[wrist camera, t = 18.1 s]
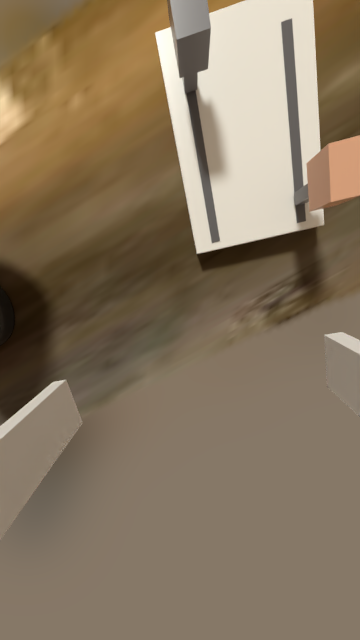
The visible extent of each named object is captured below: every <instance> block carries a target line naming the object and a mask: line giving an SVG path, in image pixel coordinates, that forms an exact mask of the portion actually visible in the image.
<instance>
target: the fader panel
mask: <svg viewBox="0 0 360 640" xmlns="http://www.w3.org/2000/svg"><path fill="white" fill-rule="evenodd" d="M209 17H210V25H211V34H210V48H209V62H208V69H207V70H204V71H201V72H198V83H197V90H194V91H191V92H188V93H185V92H184V86H183V80H182V78H180V77H179V72H178V66H177V60H176V55H175V49H174V43H173V37H172V32H171V27H170V28H167V29H164V30H161V31H159V32H156V33H155V35H156V41H157V47H158V52H159V58H160V63H161V69H162V74H163V79H164V84H165V90H166V95H167V100H168V106H169V111H170V116H171V121H172V127H173V132H174V137H175V142H176V148H177V153H178V158H179V163H180V169H181V174H182V179H183V184H184V190H185V195H186V200H187V206H188V211H189V216H190V221H191V227H192V232H193V237H194V242H195V248H196V253H197V254H201V253H206V252H210V251H214V250H219V249H223V248H227V247H232V246H236V245H241V244H245V243H249V242H254V241H258V240H262V239H267V238H271V237H275V236H280V235H284V234H289V233H293V232H297V231H302V230H306V229H310V228H314V227H318V226H321V225H324V213H323V209H319V210H315V211H310V212H309V202H308V203H304V204H300V205H296V206H295V201H294V193H295V192H296V191H297V190H299V189H300V188H302V187H303V186H304V185H306V184H307V183H308V181H307V165H306V163H307V162H309V161H310V160H311V159H312V158H313V157H314V156H315V155H316V154H318V153H319V152H320V133H319V113H318V93H317V73H316V53H315V33H314V13H313V0H245V1H243V2H240V3H237V4H234V5H231V6H229V7H226V8H223V9H220V10H217V11H215V12H212V13H209Z"/></svg>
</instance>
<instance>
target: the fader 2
mask: <svg viewBox="0 0 360 640" xmlns="http://www.w3.org/2000/svg"><path fill="white" fill-rule="evenodd" d="M306 165H307V181H308V183H307V184H306V185H304V186H303V187H302V188H300V189H299V190H297V191H296V192H295V193H294V201H295V206H296V205H300V204H304V203H308V202H309V212H310V211H315V210H319V209H323V208H327V207H331V206H336V205H339V204H341V203H344V202H346V201H348V200H351V199H353V198H356V197H358V196H360V135H359V136H356V137H352V138H348V139H344V140H341V141H337V142H333V143H330V144H328V145H327V146H325V147H324V148H323V149H322V150H321V151H320V152H319V153H318V154H316V155H315V156H314V157H313V158H312V159H311V160H310V161H309V162H307V163H306Z"/></svg>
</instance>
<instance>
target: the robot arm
mask: <svg viewBox="0 0 360 640" xmlns="http://www.w3.org/2000/svg"><path fill="white" fill-rule="evenodd" d="M13 327H14V311H13V308H12V305H11V302H10V300H9V298H8V296H7V295H6V293H5V292H4V290H3V289H2V288H1V287H0V345H2V344H3V343H4V342H6V341H7V340H8V338H9V337H10V335H11V333H12V331H13ZM324 339H325V356H326V375H327V387H328V388H329V389H330V390H331V391H333V393H334V394H336V395H337V396H338V397H339V398H340V399H341V400H342V401H343V402H344V403H345V404H346V405H347V406H348V407H350V408H351V409H352V410H353V411H354V412H355V413H356V414H357V415H358V416H359V417H360V340H358V339H356V338H353V337H352V336H349V335H347V334H345V333H343V332H339V333H333V334H328V335H324ZM82 423H83V422H82V420H81V417H80V415H79V412H78V409H77V407H76V404H75V402H74V399H73V396H72V394H71V391H70V389H69V386H68V383H67V381H66V380H61V381H56V382H52V383H51V384H50V385H49V386H48V387H46V388H45V389H44V390H43V391H42V392H41V393H39V394H38V395H37V396H36V397H35V398H33V399H32V400H31V401H30V402H29V403H27V404H26V405H25V406H24V407H23V408H21V409H20V410H19V411H18V412H17V413H16V414H14V415H13V416H12V417H11V418H10V419H8V420H7V421H6V422H5V423H4V424H2V425H1V426H0V540H1V539H2V537H3V536H4V534H5V533H6V531H7V530H8V529H9V527H10V526H11V524H12V523H13V521H14V520H15V519H16V517H17V516H18V514H19V513H20V511H21V510H22V509H23V507H24V505H25V504H26V503H27V501H28V500H29V499H30V497H31V496H32V494H33V493H34V491H35V490H36V489H37V487H38V486H39V484H40V483H41V481H42V480H43V478H44V477H45V476H46V474H47V473H48V471H49V470H50V468H51V467H52V466H53V464H54V463H55V461H56V460H57V459H58V457H59V456H60V454H61V453H62V451H63V450H64V449H65V447H66V446H67V444H68V443H69V441H70V440H71V439H72V437H73V435H74V434H75V433H76V431H77V430H78V429H79V427H80V426H81V424H82Z"/></svg>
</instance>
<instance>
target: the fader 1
mask: <svg viewBox="0 0 360 640" xmlns="http://www.w3.org/2000/svg"><path fill="white" fill-rule="evenodd" d="M167 3H168V13H169V20H170V26H171V32H172V37H173V43H174V49H175V55H176V60H177V66H178V72H179V77H180V78H182V80H183V86H184V92H185V93H188V92H191V91H194V90H197V83H198V72H201V71H204V70H207V69H208V62H209V48H210V34H211V25H210V17H209V10H208V3H207V0H167Z"/></svg>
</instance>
